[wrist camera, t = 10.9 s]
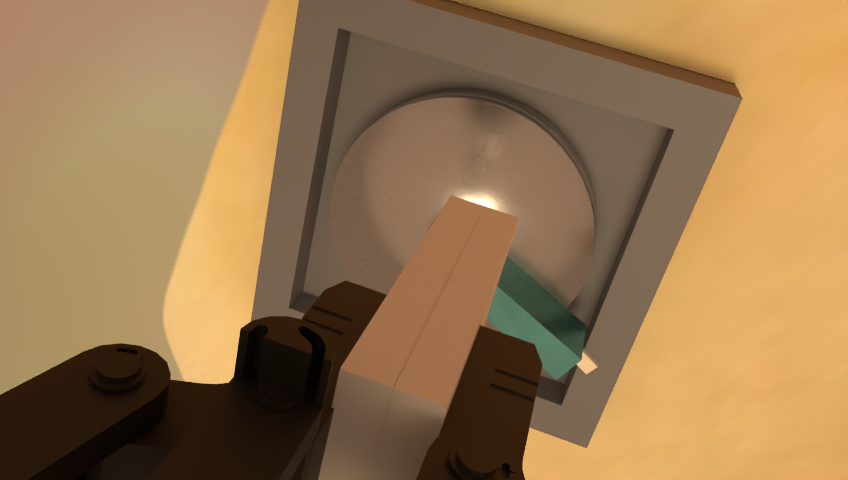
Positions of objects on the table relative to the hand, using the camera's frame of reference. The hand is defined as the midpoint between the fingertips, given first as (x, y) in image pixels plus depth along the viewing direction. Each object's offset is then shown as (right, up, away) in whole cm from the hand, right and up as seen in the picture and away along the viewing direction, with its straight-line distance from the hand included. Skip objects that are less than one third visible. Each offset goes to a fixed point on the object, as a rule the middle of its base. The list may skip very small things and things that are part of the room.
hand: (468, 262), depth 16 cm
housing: (+2, +2, +32) cm, 32 cm away
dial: (+2, +1, +31) cm, 31 cm away
